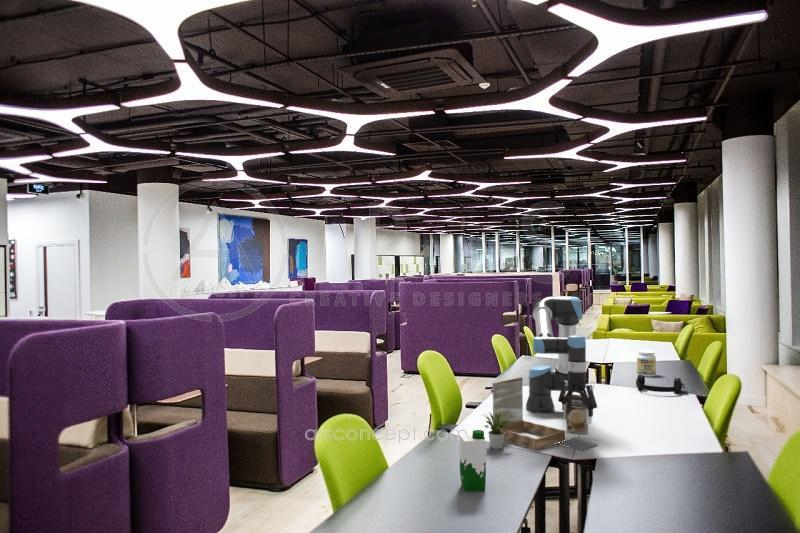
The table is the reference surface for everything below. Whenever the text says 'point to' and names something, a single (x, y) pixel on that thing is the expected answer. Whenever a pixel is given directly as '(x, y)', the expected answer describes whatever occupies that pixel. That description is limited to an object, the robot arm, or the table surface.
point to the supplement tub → (646, 363)
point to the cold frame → (520, 417)
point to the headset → (677, 387)
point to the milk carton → (473, 461)
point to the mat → (578, 444)
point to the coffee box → (576, 415)
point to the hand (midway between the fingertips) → (577, 421)
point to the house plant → (497, 430)
